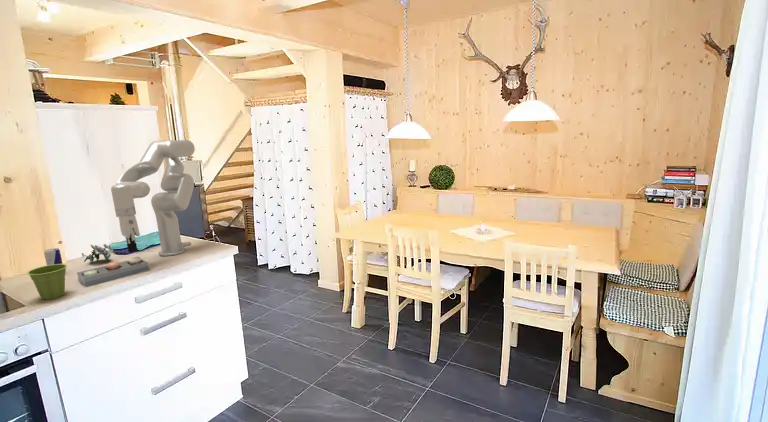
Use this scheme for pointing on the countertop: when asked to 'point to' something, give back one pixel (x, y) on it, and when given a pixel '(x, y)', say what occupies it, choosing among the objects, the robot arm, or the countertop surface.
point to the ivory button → (134, 260)
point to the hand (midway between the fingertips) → (132, 251)
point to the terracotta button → (113, 265)
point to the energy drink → (53, 256)
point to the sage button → (90, 272)
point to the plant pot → (49, 280)
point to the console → (112, 272)
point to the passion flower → (98, 253)
